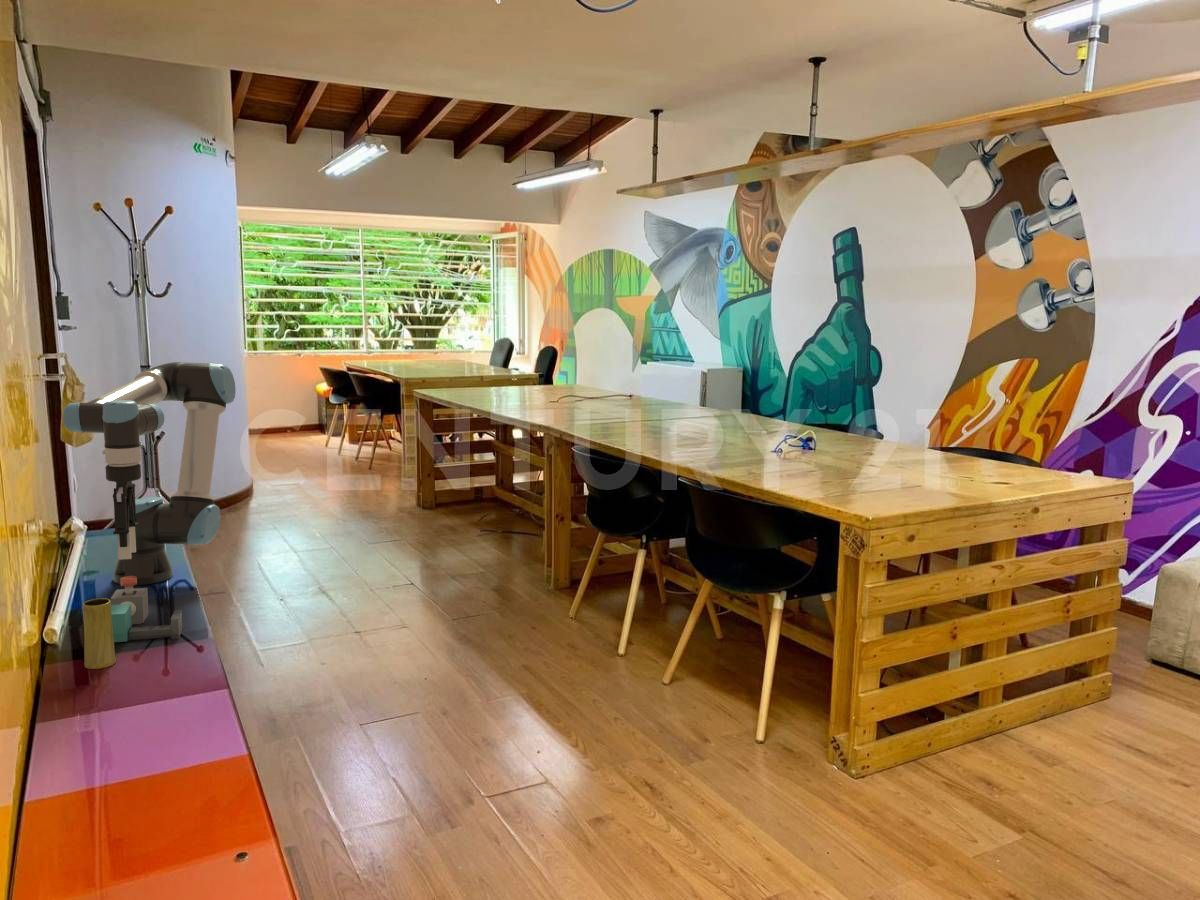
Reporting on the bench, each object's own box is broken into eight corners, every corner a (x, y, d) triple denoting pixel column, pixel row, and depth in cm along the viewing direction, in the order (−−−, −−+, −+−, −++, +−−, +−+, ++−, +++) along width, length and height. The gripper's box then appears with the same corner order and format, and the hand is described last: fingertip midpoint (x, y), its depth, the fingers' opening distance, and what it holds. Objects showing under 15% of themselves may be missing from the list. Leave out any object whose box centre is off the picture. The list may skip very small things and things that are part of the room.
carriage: (97, 644, 197) (95, 615, 195) (104, 633, 203) (102, 605, 202) (126, 642, 198) (125, 613, 197) (132, 631, 205) (130, 603, 204)
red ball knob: (122, 596, 214) (121, 576, 213) (138, 595, 215) (137, 575, 214) (119, 600, 210) (118, 580, 209) (136, 599, 211) (135, 579, 211)
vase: (78, 665, 186) (74, 603, 183) (105, 656, 191) (102, 595, 189) (95, 671, 183) (91, 608, 181) (122, 662, 188) (119, 600, 186)
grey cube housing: (117, 616, 215) (116, 589, 214) (148, 614, 218) (147, 587, 217) (111, 626, 209) (110, 598, 208) (143, 623, 211) (142, 596, 210)
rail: (87, 645, 196) (86, 625, 196) (93, 636, 202) (92, 616, 201) (178, 638, 203) (178, 618, 202) (182, 629, 208) (181, 610, 207)
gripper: (113, 457, 214) (118, 546, 218) (96, 470, 197) (101, 566, 201) (146, 457, 217) (150, 545, 220) (132, 470, 200) (137, 565, 203)
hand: (127, 555), depth 211 cm, fingers open, 5 cm apart
